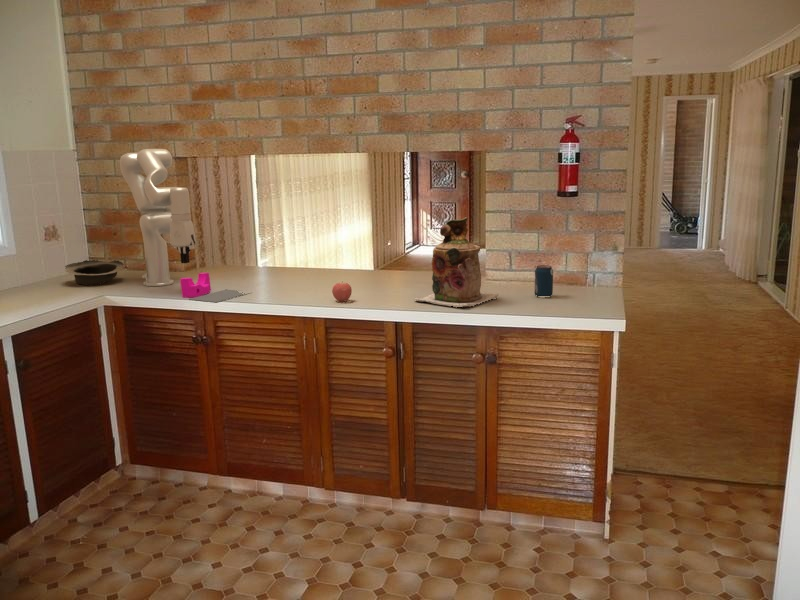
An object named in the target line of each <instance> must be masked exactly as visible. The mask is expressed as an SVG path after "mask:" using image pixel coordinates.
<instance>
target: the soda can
mask: <svg viewBox="0 0 800 600" xmlns="http://www.w3.org/2000/svg"><path fill="white" fill-rule="evenodd" d="M553 285H554V270H553V266H552V265H548V264H547V265H544V264H543V265H540V264H539V265H536V268H535V270H534V296H536V295H537V296H551V295H552V296H553V291H554V286H553ZM552 296H551V297H552Z"/></svg>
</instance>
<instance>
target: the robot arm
mask: <svg viewBox="0 0 800 600" xmlns="http://www.w3.org/2000/svg"><path fill="white" fill-rule="evenodd" d="M172 165H173V156H172V154H171V152H170V151H169V150H168V149H165V148H144V149H141V150H139V151H138V152H128V153H124V154H123V155H121V157H120V158H119V169H120V172H121V176H122V177H123V179H124V180H125V182H126V183H127V185H128V186H129V189H130V192H131V194H132V197H133V199H134V200H133V201H134V202H135V205H136V208H137V209H138V211H139V212H140V213H142V215H141V216H140V218H139V227H140V231H141V234H142V239H143V248H144V259H145V269H146V270H145V271H146V273H144V274H142V275H141V278H142V279H145V281H143V286H145V287H163V286H170V285H172V284H174V279H171V277H170V267H169V266H170V265H169V254H168V252H169V251H168V245H167V242H166V240H165V239H164V238H163V237H162V236H161V235H166V234H169V243H170V245H171V246H172V247H173V249H175V250H177V251H178V254H180V263H181V264H189V263H190V261H191V260H190V254H191V251H192V250H194V249H196V247H195V245H196V233H195V227H194V223H193V220H192V214H191V205H190V204H191V202H190V193H189V188H187V187H181V186H164V187H162V186H160V187H156V186H159V185H160V184H162V183H163V182H164V181H166V179H167V178H168V172H169V171H168V169H170V168H171V167H172ZM141 173H144V174H145V176H146V177H145V176H144V175H142V174H141Z"/></svg>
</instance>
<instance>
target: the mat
mask: <svg viewBox="0 0 800 600" xmlns="http://www.w3.org/2000/svg"><path fill="white" fill-rule="evenodd" d="M237 290H238V289H236V290H235V289H228V288H227V289H223V290H222V289H221V290H217V291H214V292H210V293H207V294H204V295H201V296H198V297H190V298H188V300H189V301H196V302H197V301H198V302H206V303H208V302H209V303H219V302H220V301H221V302H223V300H224V301H227V300H226V299H228V300H231V299H234V298H233V297H235V298H238V297H237V296H239V297H241V296H240V295H242V296H244V295H243V294H242V293H243V292H242V293H239V292H238V291H239V290H238V291H237ZM244 294H245V293H244ZM230 298H231V299H230ZM221 302H220V303H221Z"/></svg>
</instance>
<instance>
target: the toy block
mask: <svg viewBox="0 0 800 600" xmlns="http://www.w3.org/2000/svg"><path fill="white" fill-rule="evenodd" d="M210 279H211V278H210V273H209V272H200V273H198V277H197V282H196V284H195V282H194V281H193V277H181V278H180V289H181V296H182V298H195V297H199V296H202V295H206V294H210V293H211V292H212V286H211V280H210Z"/></svg>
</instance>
